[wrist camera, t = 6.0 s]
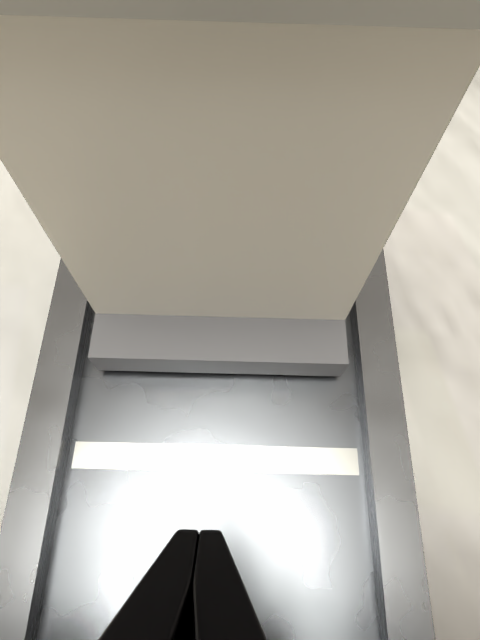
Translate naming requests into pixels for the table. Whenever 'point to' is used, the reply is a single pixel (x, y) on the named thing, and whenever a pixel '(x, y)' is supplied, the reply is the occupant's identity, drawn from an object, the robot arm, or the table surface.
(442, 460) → the table surface
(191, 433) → the tray
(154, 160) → the fader paddle
